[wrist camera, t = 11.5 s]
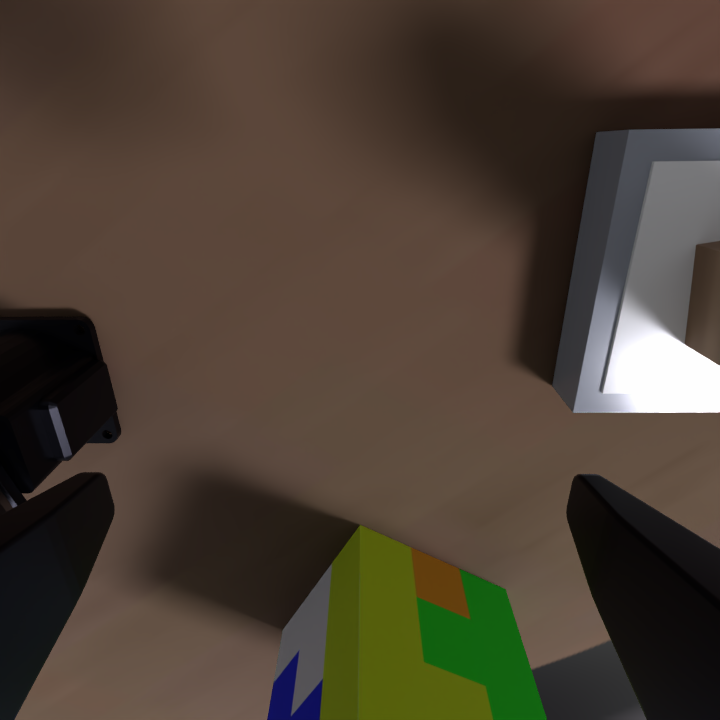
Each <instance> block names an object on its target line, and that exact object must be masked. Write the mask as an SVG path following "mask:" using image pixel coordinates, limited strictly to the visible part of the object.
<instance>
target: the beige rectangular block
mask: <svg viewBox="0 0 720 720" xmlns="http://www.w3.org/2000/svg"><path fill="white" fill-rule="evenodd" d="M684 345H686V346H688V347H689V348H691V349H693V350H694V351H696V352H698V353H699V354H701V355H702V356H704V357H706V358H707V359H709V360H711V361H712V362H714V363H716V364H717V365H719V366H720V241H716V242H709V243H703V244H697V245H696V250H695V258H694V267H693V276H692V284H691V293H690V301H689V310H688V318H687V327H686V335H685V344H684Z"/></svg>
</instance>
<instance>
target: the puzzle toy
mask: <svg viewBox="0 0 720 720" xmlns="http://www.w3.org/2000/svg"><path fill="white" fill-rule="evenodd" d="M267 720H547V718H546V715H545V712H544V709H543V706H542V702H541V699H540V696H539V693H538V690H537V687H536V683H535V680H534V677H533V674H532V671H531V668H530V665H529V662H528V658H527V655H526V652H525V649H524V646H523V643H522V640H521V636H520V633H519V630H518V627H517V624H516V621H515V618H514V614H513V611H512V608H511V605H510V602H509V599H508V596H507V593H506V589H504V588H501V587H499V586H497V585H495V584H492V583H490V582H488V581H486V580H483V579H481V578H479V577H477V576H474V575H472V574H470V573H468V572H465V571H463V570H461V569H459V568H456V567H454V566H452V565H450V564H447V563H445V562H443V561H441V560H438V559H436V558H434V557H431V556H429V555H427V554H425V553H422V552H420V551H418V550H416V549H413V548H411V547H409V546H407V545H404V544H402V543H400V542H398V541H395V540H393V539H391V538H389V537H386V536H384V535H382V534H380V533H377V532H375V531H373V530H371V529H368V528H366V527H364V526H362V525H360V526H359V527H358V529H357V530H356V531H355V533H354V534H353V535H352V537H351V538H350V539H349V541H348V542H347V543H346V545H345V546H344V548H343V549H342V550H341V552H340V553H339V554H338V556H337V557H336V558H335V560H334V561H333V562H332V564H331V565H330V567H329V568H328V569H327V571H326V572H325V573H324V575H323V576H322V577H321V579H320V580H319V581H318V583H317V584H316V586H315V587H314V588H313V590H312V591H311V592H310V594H309V595H308V596H307V598H306V599H305V600H304V602H303V603H302V605H301V606H300V607H299V609H298V610H297V611H296V613H295V614H294V615H293V617H292V618H291V619H290V621H289V622H288V624H287V625H286V626H285V628H284V629H283V631H282V637H281V643H280V648H279V654H278V660H277V666H276V672H275V678H274V683H273V689H272V695H271V701H270V707H269V713H268V719H267Z"/></svg>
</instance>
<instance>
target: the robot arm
mask: <svg viewBox="0 0 720 720" xmlns="http://www.w3.org/2000/svg"><path fill="white" fill-rule="evenodd" d="M78 325H81V326H82V327H83V328H84V330H85V332H82V331H81V330H80V329H79V328H78ZM117 409H118V408H117V404H116V400H115V396H114V392H113V388H112V384H111V380H110V376H109V372H108V368H107V365H106V363H105V362H104V361H103V357H102V353H101V349H100V345H99V342H98V338H97V334H96V330H95V326H94V324H93V323H92V321H91V320H89V319H88V318H86V317H0V720H14V719H15V717H16V715H17V714H18V712H19V710H20V708H21V706H22V704H23V702H24V701H25V699H26V697H27V695H28V693H29V691H30V689H31V687H32V686H33V684H34V682H35V680H36V678H37V676H38V674H39V673H40V671H41V669H42V667H43V665H44V663H45V661H46V660H47V658H48V656H49V654H50V652H51V650H52V648H53V646H54V645H55V643H56V641H57V639H58V637H59V635H60V633H61V632H62V630H63V628H64V626H65V624H66V622H67V620H68V619H69V617H70V615H71V613H72V611H73V609H74V607H75V605H76V603H77V601H78V599H79V597H80V596H81V594H82V591H83V589H84V587H85V585H86V583H87V580H88V578H89V575H90V573H91V571H92V568H93V566H94V563H95V561H96V559H97V556H98V554H99V551H100V549H101V547H102V544H103V542H104V539H105V537H106V535H107V532H108V530H109V527H110V525H111V522H112V520H113V517H114V503H113V499H112V496H111V492H110V489H109V485H108V481H107V478H106V476H105V475H104V474H102V473H99V472H84V473H79V474H77V475H75V476H73V477H71V478H69V479H67V480H65V481H64V482H62V483H60V484H58V485H56V486H54V487H52V488H50V489H48V490H47V491H45V492H43V493H41V494H39V495H37V496H35V497H33V498H31V499H29V500H28V501H27V500H26V499H25V498H24V496H23V495H22V493H32V492H33V491H34V490H35V489H36V488H37V487H38V486H39V485H40V484H41V483H42V481H43V480H44V479H45V478H46V477H47V476H48V475H49V474H50V473H51V472H52V471H53V470H54V469H55V468H56V467H57V466H58V465H59V464H60V463H61V462H62V461H69V460H70V459H71V458H72V457H73V456H74V455H75V454H76V453H77V452H78V451H79V450H80V449H81V448H82V447H83V446H84V445H85V444H86V443H113V442H115V441H116V440H117V439H118V438H119V436H120V435H121V428H120V424H119V420H118V416H117V412H116V411H117ZM106 430H108V431H110V432H111V433H112V434H109V433H107V431H106ZM566 513H567V520H568V524H569V527H570V530H571V533H572V536H573V539H574V542H575V545H576V548H577V552H578V555H579V558H580V561H581V564H582V567H583V570H584V573H585V576H586V579H587V583H588V586H589V588H590V591H591V594H592V597H593V599H594V602H595V604H596V606H597V609H598V611H599V614H600V616H601V618H602V620H603V622H604V625H605V627H606V629H607V631H608V634H609V636H610V638H611V640H612V643H613V645H614V647H615V649H616V652H617V654H618V656H619V658H620V661H621V663H622V665H623V667H624V670H625V672H626V674H627V676H628V679H629V681H630V683H631V685H632V688H633V690H634V692H635V694H636V696H637V699H638V701H639V703H640V705H641V708H642V710H643V712H644V714H645V717H646V719H647V720H720V549H719V548H718V547H716V546H714V545H713V544H711V543H709V542H708V541H706V540H704V539H703V538H701V537H700V536H698V535H696V534H695V533H693V532H691V531H690V530H688V529H687V528H685V527H683V526H682V525H680V524H678V523H677V522H675V521H674V520H672V519H670V518H669V517H667V516H665V515H664V514H662V513H660V512H659V511H657V510H656V509H654V508H652V507H651V506H649V505H647V504H646V503H644V502H643V501H641V500H639V499H638V498H636V497H634V496H633V495H631V494H630V493H628V492H626V491H625V490H623V489H621V488H620V487H618V486H616V485H615V484H613V483H612V482H610V481H608V480H607V479H605V478H603V477H602V476H600V475H597V474H578V475H576V476H575V477H574V479H573V481H572V485H571V490H570V495H569V499H568V504H567V511H566Z"/></svg>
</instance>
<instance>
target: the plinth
mask: <svg viewBox="0 0 720 720" xmlns="http://www.w3.org/2000/svg"><path fill="white" fill-rule="evenodd" d="M716 241H720V128H719V129H640V130H618V131H604V132H596V137H595V142H594V148H593V154H592V160H591V165H590V171H589V177H588V183H587V189H586V194H585V200H584V206H583V212H582V217H581V223H580V229H579V235H578V240H577V246H576V252H575V258H574V263H573V269H572V275H571V281H570V287H569V292H568V298H567V304H566V310H565V315H564V321H563V327H562V333H561V338H560V344H559V350H558V356H557V362H556V367H555V373H554V379H553V385H552V387H553V388H554V389H555V390H556V392H557V393H558V394H559V395H560V397H561V398H562V399H563V401H564V402H565V403H566V404H567V406H568V407H569V408H570V409H571V411H572V412H573V413H629V412H720V366H719V365H717V364H716V363H714V362H712V361H711V360H709V359H707V358H706V357H704V356H702V355H701V354H699V353H698V352H696V351H694V350H693V349H691V348H689V347H688V346H686V345H684V344H685V335H686V327H687V318H688V310H689V301H690V293H691V284H692V276H693V267H694V258H695V250H696V245H697V244H703V243H709V242H716Z"/></svg>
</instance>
